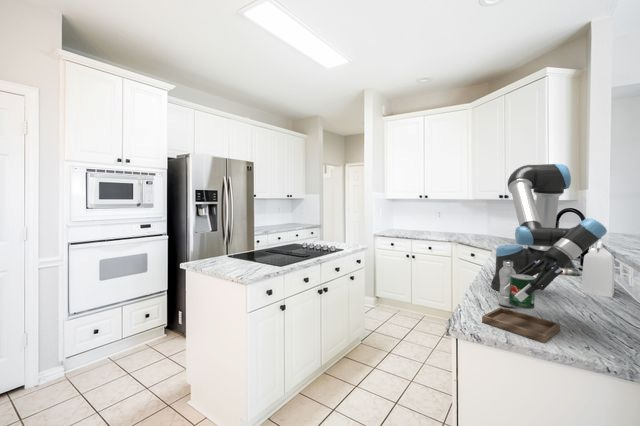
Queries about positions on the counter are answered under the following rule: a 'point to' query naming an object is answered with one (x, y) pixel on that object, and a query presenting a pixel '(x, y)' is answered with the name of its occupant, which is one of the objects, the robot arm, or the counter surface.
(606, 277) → the milk
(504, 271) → the plastic bottle
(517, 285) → the canned tomato
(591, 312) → the counter surface
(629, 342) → the counter surface
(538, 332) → the walnut tray
